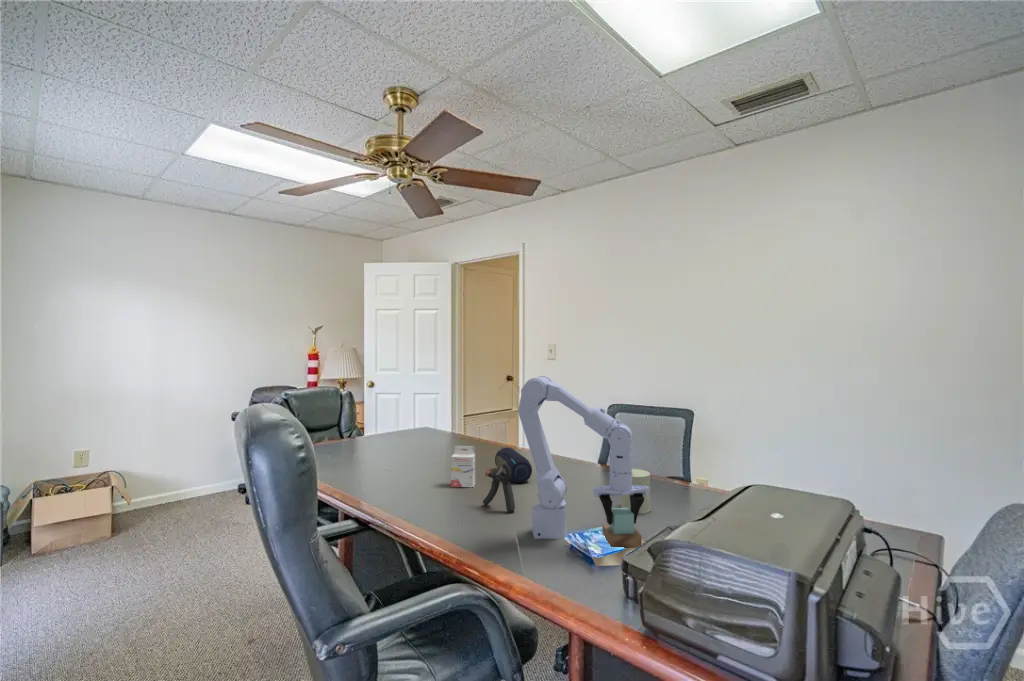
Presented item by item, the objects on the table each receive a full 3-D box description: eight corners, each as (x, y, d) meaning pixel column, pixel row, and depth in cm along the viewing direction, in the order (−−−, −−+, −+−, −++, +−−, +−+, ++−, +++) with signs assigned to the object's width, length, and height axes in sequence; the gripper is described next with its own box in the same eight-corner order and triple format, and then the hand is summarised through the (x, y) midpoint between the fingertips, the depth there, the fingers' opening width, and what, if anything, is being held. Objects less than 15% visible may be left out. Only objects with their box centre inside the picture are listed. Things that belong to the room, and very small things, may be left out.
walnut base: (610, 548, 122) (610, 536, 122) (602, 536, 130) (602, 524, 130) (641, 547, 122) (641, 535, 122) (631, 534, 130) (631, 523, 130)
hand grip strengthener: (486, 504, 159) (486, 458, 160) (515, 512, 151) (515, 464, 152) (481, 505, 158) (481, 460, 158) (511, 514, 150) (510, 466, 150)
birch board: (596, 570, 112) (596, 565, 112) (579, 539, 130) (579, 535, 130) (662, 567, 113) (662, 563, 113) (637, 536, 131) (637, 533, 131)
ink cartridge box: (450, 488, 178) (450, 448, 178) (453, 484, 182) (453, 445, 183) (473, 488, 177) (473, 448, 177) (475, 484, 182) (475, 445, 182)
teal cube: (615, 534, 123) (614, 514, 123) (609, 527, 128) (609, 508, 128) (634, 533, 124) (633, 514, 124) (627, 526, 129) (627, 507, 129)
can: (615, 508, 154) (615, 471, 154) (631, 502, 160) (630, 466, 160) (641, 515, 147) (640, 476, 147) (656, 508, 154) (655, 471, 154)
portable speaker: (492, 470, 203) (492, 446, 203) (515, 468, 206) (514, 444, 206) (509, 486, 179) (509, 459, 179) (534, 484, 182) (534, 457, 182)
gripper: (597, 475, 122) (598, 529, 121) (653, 474, 123) (653, 527, 122) (590, 468, 129) (591, 519, 128) (643, 467, 130) (644, 517, 130)
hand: (621, 522), depth 126 cm, fingers open, 6 cm apart
